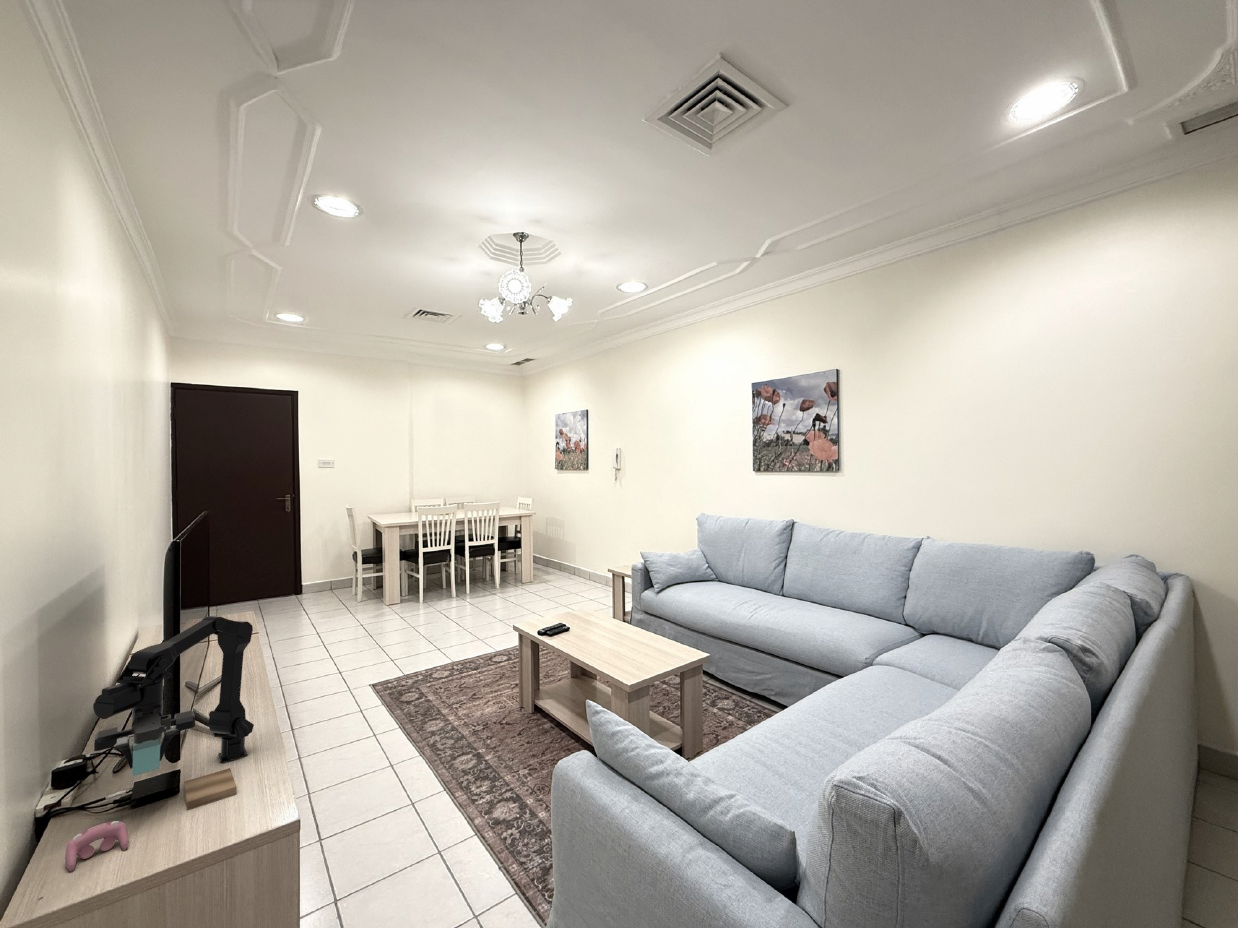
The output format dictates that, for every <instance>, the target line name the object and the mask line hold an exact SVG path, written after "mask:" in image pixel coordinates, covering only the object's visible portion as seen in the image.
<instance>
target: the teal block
mask: <svg viewBox="0 0 1238 928" xmlns="http://www.w3.org/2000/svg"><path fill="white" fill-rule="evenodd" d="M160 738H161V737H160ZM160 738H158V739H156V740H150V741H145V742H143V743H140V744H135V743H133V744H132V757H133V768H132V769H131V770H132V772H131V773H132V775H131V776H132V777H135V776H139V775H142V774H145V773H149V772H152V771H153V772H155V771H156V770H160V762H161V761H160V745H161V739H160Z"/></svg>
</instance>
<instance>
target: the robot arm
mask: <svg viewBox="0 0 1238 928" xmlns="http://www.w3.org/2000/svg"><path fill="white" fill-rule="evenodd" d="M253 631H254V630H253V624H251V623H250V622H249V621H243V620H241V621H239V620H233V619H228V618H225V617H224V616H215V615H214V616H212V615H211V616H210V615H209V616H205V617H203V618H202V620H200V621H199V622H197V623H195V624H193V625H192V626H190V627H188V628H187V629H185V630H183V631H182V632H180V633H178V634H176V635H175V636H173V637H171V638H170V639H169V638H168V640H166V641H164V642H160V643H157V644H153V645H150V646H149V645H148V646H146V647H144V648H142V649H139V650H137V651H135V652H134V653H132V655H131V656H130V659H129V660H128V661H127V664H126V665H125V666H124V669H122V671H121V673H120V674H119V676H118V677H117V678H116V680H115V683H116V685H112V686H106V687H104V688H102V689H101V694H100V695H98V696H97V697H96V698H95V701H94V702H93V705H92V707H93V712H94V714H95V715H96V717H97V718H99V719H101V720H107V719H109V718H112V717H114V716H117V715H119V714H123V713H124V712H127V711H130V710H132V714H131V728H128V729H123V730H120V731H119V730H118V727H117V726H116V727H113V728H108V729H103V730H99V731H97V732H96V734H95V736H94V747H93V751H94V752H100V751H104V750H107V749H110V748H111V749H112V750H113V751H116V750H118V751H121V753H122V754H123V756H124V758H125V759H126V761H127V762H126V763H127V764H128V767H129V768H130V769H131V770H132V768H133V749H132V745H131V738H132V737H133V742H134V743H135V744H140V743H143V742H145V741H150V740H156V739H158V738H161V739H160V762H161V761H163V760H162V759H163V758H164V755H165V753H166V750H167V748H168V745H169V744H170V742H171V740H172V738H174V736H176V735H179V733H180V732H181V731H186V730H189V729H193V728H195V727H196V715H195V712H194V711H193V710H187V711H183V712H178V713H174V718H172V714H171V713H169V714H165V715H163V707H164V706H163V702H164V701H163V700H164V699H163V698H164V680H165V679H168V678H171V677H172V676H173V674H172V673H171V672H168V671H167V669H168V668H170V666H172V665H173V664H174V663H175V661H176V659H177V658H178V656H179V657H180V655H181V654H183V653H184V652H186V651H187V650H189V649H191V648H193V647H194V646H196V645H198V644H199V643H200V642H202V641H204V640H205V639H207V638H208V637H210V636H212V635H214V636H216V637H217V644H218V645H217V646H219V648H220V650H221V652H222V661H221V662H222V663H221V664H222V665H221V674H220V675H221V676H220V677H221V678H220V688H219V700H218V701H219V702H218V704H217V706H216V707H215V708H214V710H210V712H209V714H208V723H207V727H209V731H210V732H212V735H213V737H214V738H221V739H220V741H221V742H220V752H218V753H217V756H218V761H219V763H220V764H224V763H226V762H227V763H228V762H230V761H235V760H237V759H240V758H241V759H242V758H244V757H248V755H249V754H248V750H246V746H245V744H246V743H245V741H246V737H248V736H250V735H249V734H251V733H253V730H254V723H252V722H251V721H249V720H248V719H247V718H246V715H247V714H246V708H245V707H244V704H243V703H242V701H241V689H242V688H241V687H242V677H243V667H244V666H243V665H244V664H243V663H244V654H245V653H244V651H245V650H246V648H247V647H248V646H249V644H250V643H251V640H252V635H253ZM143 675H144V676H143ZM134 743H133V744H134Z"/></svg>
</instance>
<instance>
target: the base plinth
mask: <svg viewBox="0 0 1238 928" xmlns="http://www.w3.org/2000/svg"><path fill="white" fill-rule="evenodd" d="M183 794H184V799H185V805H186V811H189V810H192V809H196V808H198V807H201V806H205V805H208V804H211V803H214V802H217V801H219V800H223V799H227V798H229V797H232V796H235V795H237V783H236V781H235V778H234V775H233V772H232V769H231V767H229V768H225V769H222V770H218V771H215V772H212V773H209V774H206V775H205V774H204V775H201V776H198V777H195V778H191V779H188V780H185V781H183Z"/></svg>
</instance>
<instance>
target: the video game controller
mask: <svg viewBox="0 0 1238 928" xmlns="http://www.w3.org/2000/svg"><path fill="white" fill-rule="evenodd" d="M102 839H103V840H102ZM99 840H102V841H101V843H100V844H99V850H101V852H102V851H103V852H107V851H109V850H111V849H112V847H113V846H114V844H115V842H116V841H118V843H119V845H120V847H121V849H122V850H123V851H125V850H127V849H128V848H129V831H128V828H127V826H126V824H125V823H124V822H122V821H117V820H116V821H115V820H114V821H108V822H103V823H100V824H97V825H94V826H92V827H89V828H87V829H86V830H84V831H82V832H80V833H78V834H76V835H75V836H74V837H73V838H71V839H70V840H69V841H68V843H67V844H66V848H65V852H64V853H65V855H64V856H65V857H64V859H65V864H66V869H67V870H68V872H73V871H74V870H75V868H76V863H77V856H78V857H79V858H80V859H82V860H85V859H88V858H90V857H91V856H93V855H94V853H95V847H94V846H93V844H91V843H93V842H96V841H99Z"/></svg>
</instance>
